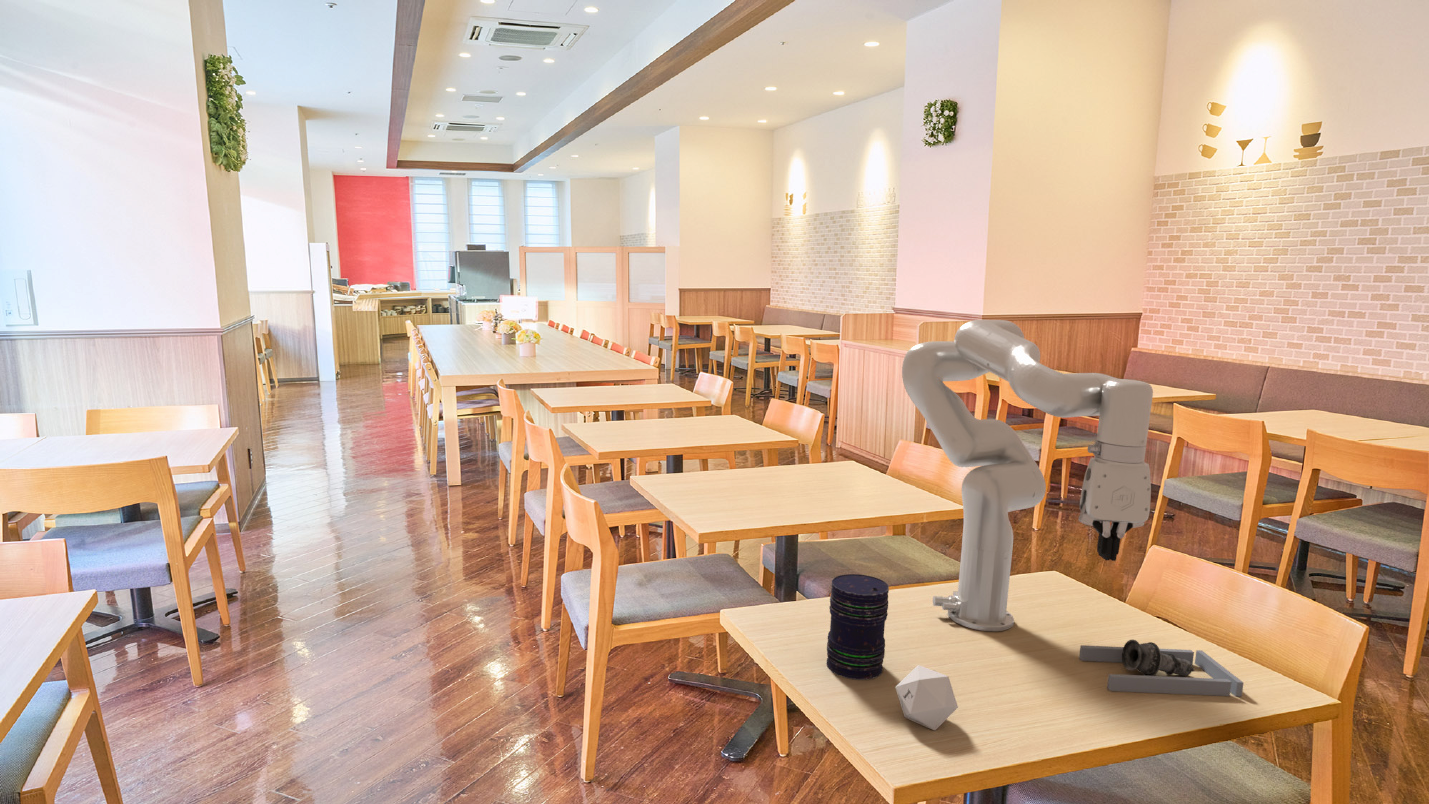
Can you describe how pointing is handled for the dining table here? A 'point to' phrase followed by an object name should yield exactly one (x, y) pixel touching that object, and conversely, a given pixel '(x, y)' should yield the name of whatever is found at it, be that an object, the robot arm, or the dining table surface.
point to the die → (926, 697)
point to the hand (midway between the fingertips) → (1106, 557)
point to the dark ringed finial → (1152, 660)
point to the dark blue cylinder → (857, 626)
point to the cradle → (1173, 685)
